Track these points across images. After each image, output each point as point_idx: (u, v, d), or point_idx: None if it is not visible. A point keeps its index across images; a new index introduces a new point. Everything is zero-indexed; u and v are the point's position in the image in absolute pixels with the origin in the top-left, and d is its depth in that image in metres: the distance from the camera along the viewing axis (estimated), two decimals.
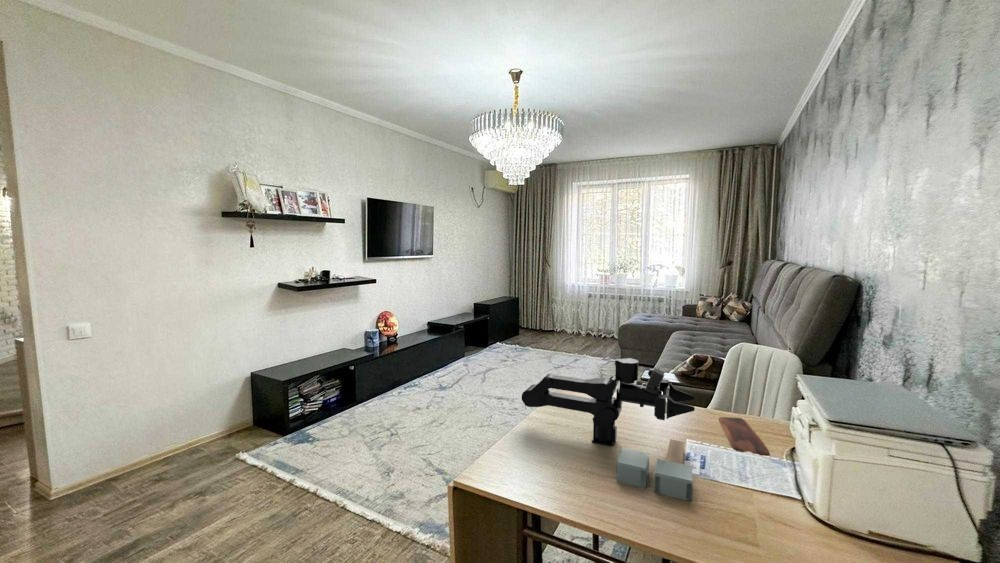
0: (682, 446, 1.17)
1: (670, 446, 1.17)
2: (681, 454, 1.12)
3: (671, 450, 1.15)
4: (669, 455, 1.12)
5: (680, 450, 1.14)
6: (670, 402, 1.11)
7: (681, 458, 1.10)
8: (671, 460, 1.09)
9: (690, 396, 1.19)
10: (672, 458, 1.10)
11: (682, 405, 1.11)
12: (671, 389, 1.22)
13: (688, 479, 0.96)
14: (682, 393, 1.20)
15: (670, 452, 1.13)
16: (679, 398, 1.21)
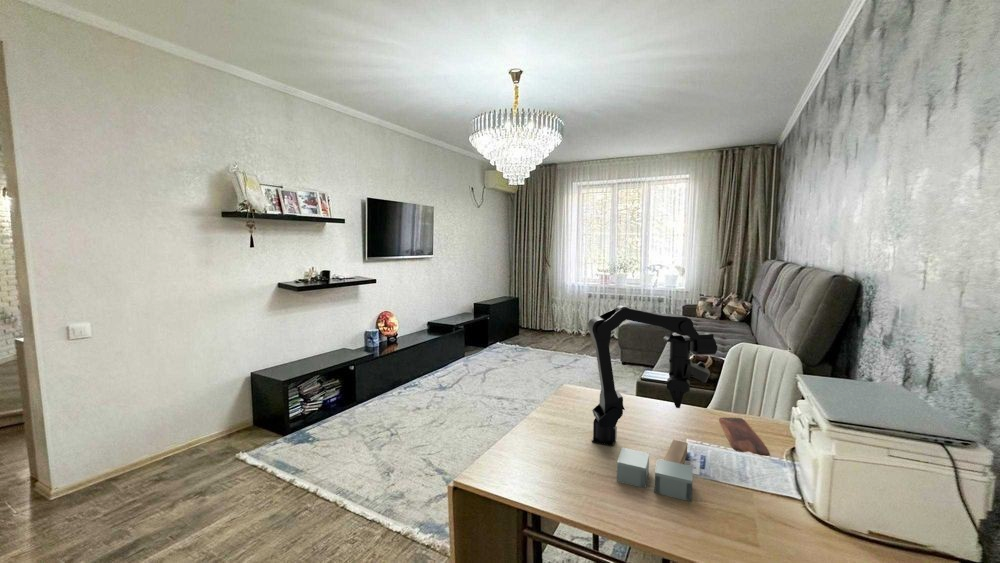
0: (684, 447, 1.16)
1: (671, 446, 1.17)
2: (681, 454, 1.12)
3: (671, 450, 1.15)
4: (668, 455, 1.12)
5: (681, 450, 1.14)
6: None
7: (680, 458, 1.10)
8: (669, 459, 1.09)
9: None
10: (671, 457, 1.10)
11: (681, 399, 1.21)
12: None
13: (688, 479, 0.96)
14: None
15: (670, 452, 1.14)
16: None
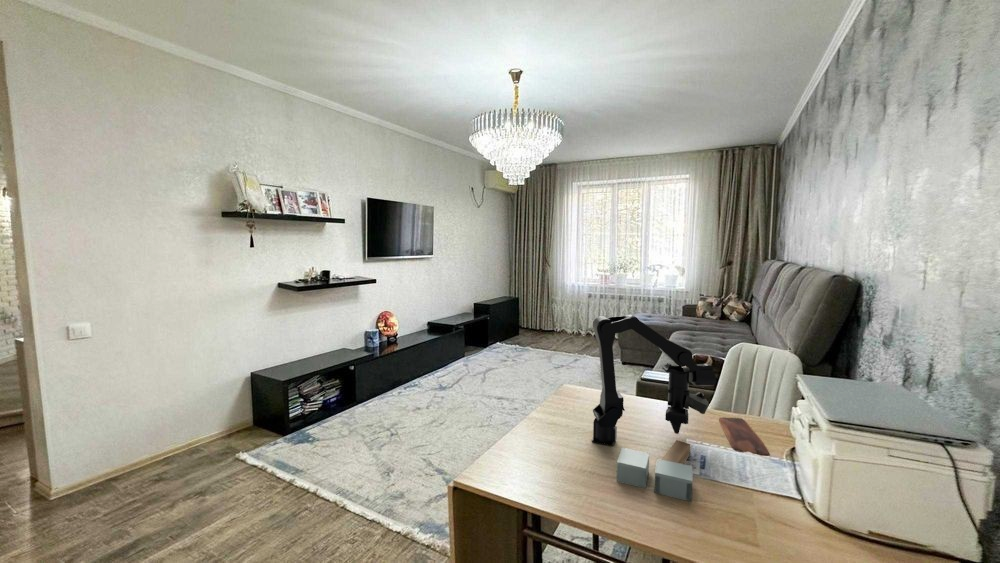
0: (686, 447, 1.16)
1: (673, 446, 1.17)
2: (680, 454, 1.12)
3: (672, 449, 1.15)
4: (667, 454, 1.12)
5: (681, 451, 1.14)
6: None
7: (678, 458, 1.10)
8: (667, 459, 1.10)
9: None
10: (669, 457, 1.11)
11: (679, 426, 1.24)
12: None
13: (688, 479, 0.96)
14: None
15: (670, 451, 1.14)
16: None
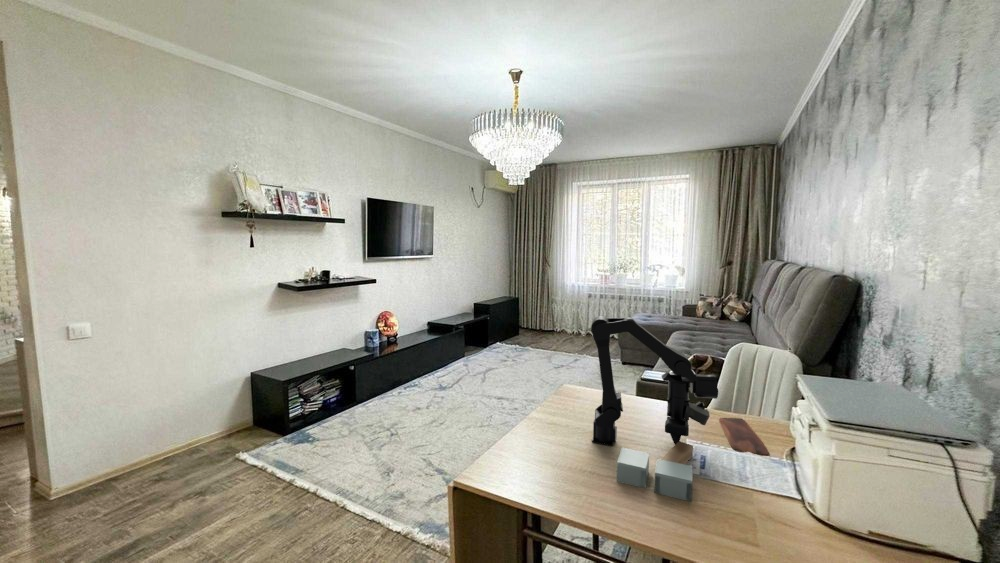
0: (687, 449, 1.15)
1: (674, 447, 1.16)
2: (681, 455, 1.11)
3: (673, 450, 1.14)
4: (668, 455, 1.12)
5: (683, 452, 1.13)
6: None
7: (678, 459, 1.10)
8: (666, 459, 1.10)
9: None
10: (669, 457, 1.10)
11: (679, 437, 1.20)
12: None
13: (688, 479, 0.96)
14: None
15: (670, 452, 1.13)
16: None
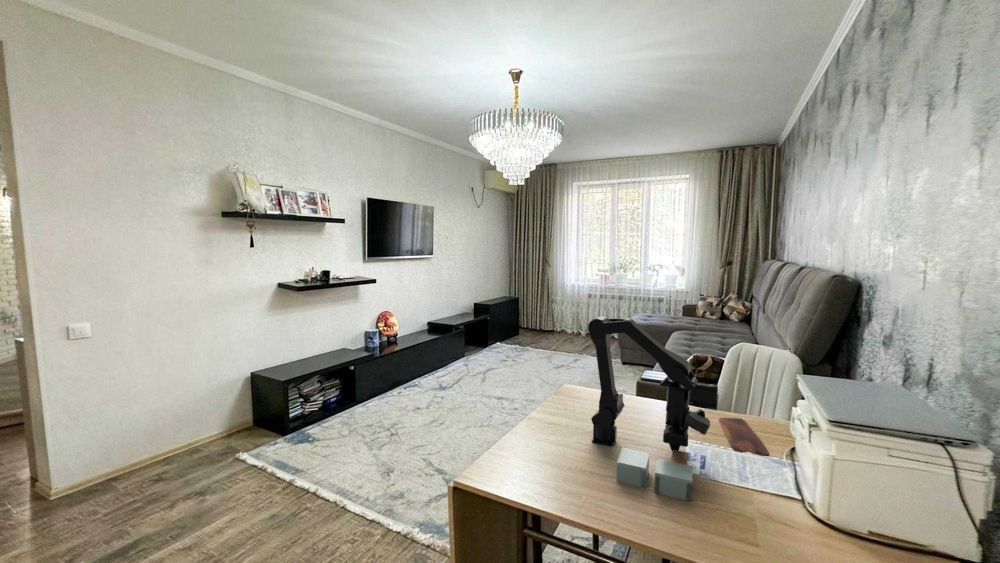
0: (686, 457, 1.10)
1: (673, 457, 1.10)
2: None
3: (674, 461, 1.08)
4: None
5: (684, 462, 1.08)
6: None
7: None
8: None
9: None
10: None
11: (678, 446, 1.14)
12: None
13: (688, 479, 0.96)
14: None
15: None
16: None
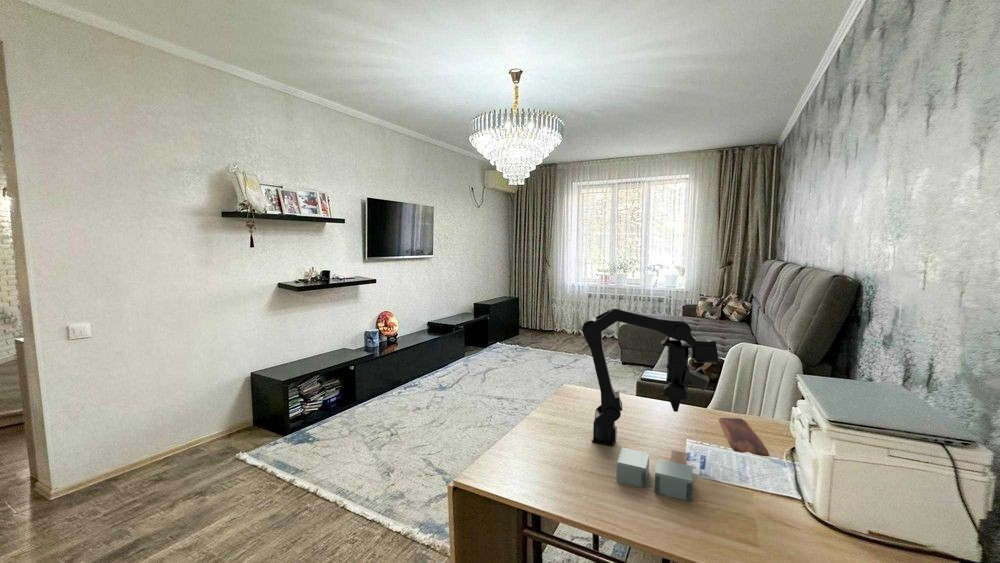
0: (685, 458, 1.10)
1: (672, 458, 1.10)
2: None
3: None
4: None
5: (683, 462, 1.08)
6: None
7: None
8: None
9: None
10: None
11: (678, 403, 1.19)
12: None
13: (688, 479, 0.96)
14: None
15: None
16: None
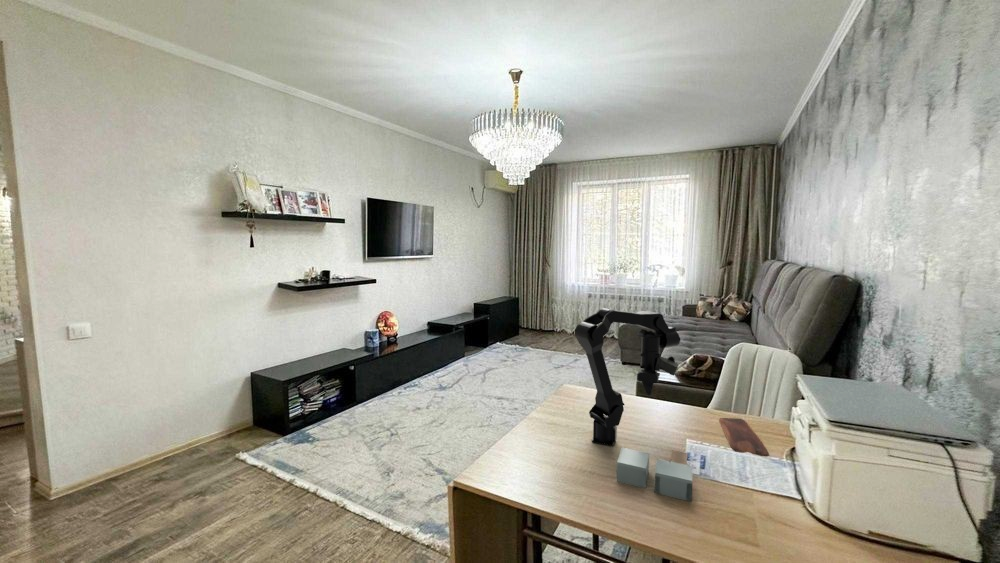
0: (685, 458, 1.10)
1: (672, 458, 1.10)
2: None
3: None
4: None
5: (683, 462, 1.08)
6: None
7: None
8: None
9: None
10: None
11: (651, 387, 1.32)
12: None
13: (688, 479, 0.96)
14: None
15: None
16: None
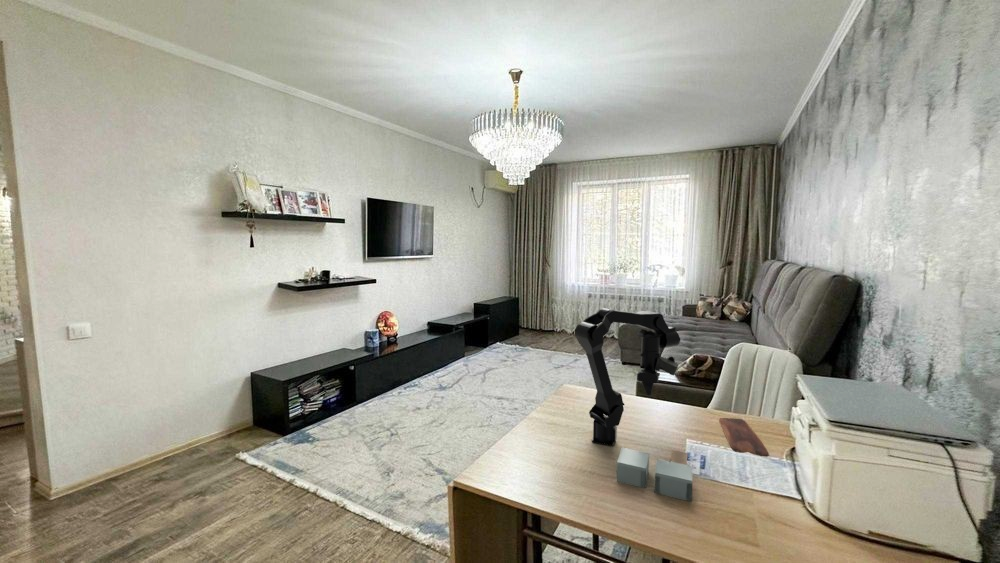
0: (685, 458, 1.10)
1: (672, 458, 1.10)
2: None
3: None
4: None
5: (683, 462, 1.08)
6: None
7: None
8: None
9: None
10: None
11: (651, 387, 1.32)
12: None
13: (688, 479, 0.96)
14: None
15: None
16: None
